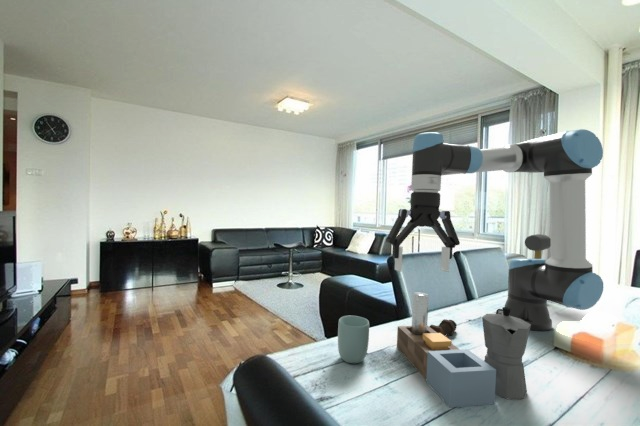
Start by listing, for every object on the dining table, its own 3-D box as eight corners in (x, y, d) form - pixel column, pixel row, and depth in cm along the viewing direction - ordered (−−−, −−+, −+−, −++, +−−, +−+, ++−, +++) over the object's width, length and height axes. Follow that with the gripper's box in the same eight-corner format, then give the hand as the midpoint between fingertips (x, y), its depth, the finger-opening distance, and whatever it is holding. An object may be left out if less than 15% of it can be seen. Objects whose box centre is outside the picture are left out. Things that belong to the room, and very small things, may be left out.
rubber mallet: (538, 303, 135) (542, 235, 134) (520, 299, 141) (523, 233, 140) (550, 299, 142) (553, 234, 141) (531, 295, 148) (535, 233, 147)
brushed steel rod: (421, 349, 86) (423, 292, 86) (428, 356, 82) (431, 296, 82) (407, 349, 85) (410, 292, 85) (414, 356, 81) (417, 296, 81)
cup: (333, 363, 76) (334, 323, 76) (341, 350, 84) (343, 313, 83) (364, 370, 74) (365, 328, 73) (370, 356, 81) (372, 318, 81)
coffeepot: (535, 411, 61) (541, 320, 60) (482, 398, 64) (486, 312, 64) (517, 373, 75) (521, 299, 75) (474, 364, 79) (478, 294, 78)
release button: (439, 359, 78) (440, 332, 78) (450, 369, 73) (451, 341, 73) (421, 360, 77) (422, 333, 77) (431, 370, 72) (433, 341, 72)
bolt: (453, 336, 101) (435, 349, 90) (440, 324, 104) (421, 336, 93) (464, 323, 99) (446, 335, 88) (450, 312, 102) (432, 322, 91)
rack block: (466, 379, 72) (467, 349, 71) (494, 403, 63) (496, 369, 62) (426, 381, 70) (427, 351, 70) (449, 407, 61) (451, 372, 61)
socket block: (426, 346, 88) (427, 325, 88) (461, 376, 72) (462, 351, 72) (396, 347, 87) (397, 326, 86) (425, 379, 71) (427, 353, 71)
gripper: (387, 188, 77) (383, 273, 77) (476, 193, 81) (472, 273, 82) (376, 190, 84) (372, 267, 85) (458, 194, 89) (455, 268, 89)
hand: (421, 270), depth 83 cm, fingers open, 13 cm apart
